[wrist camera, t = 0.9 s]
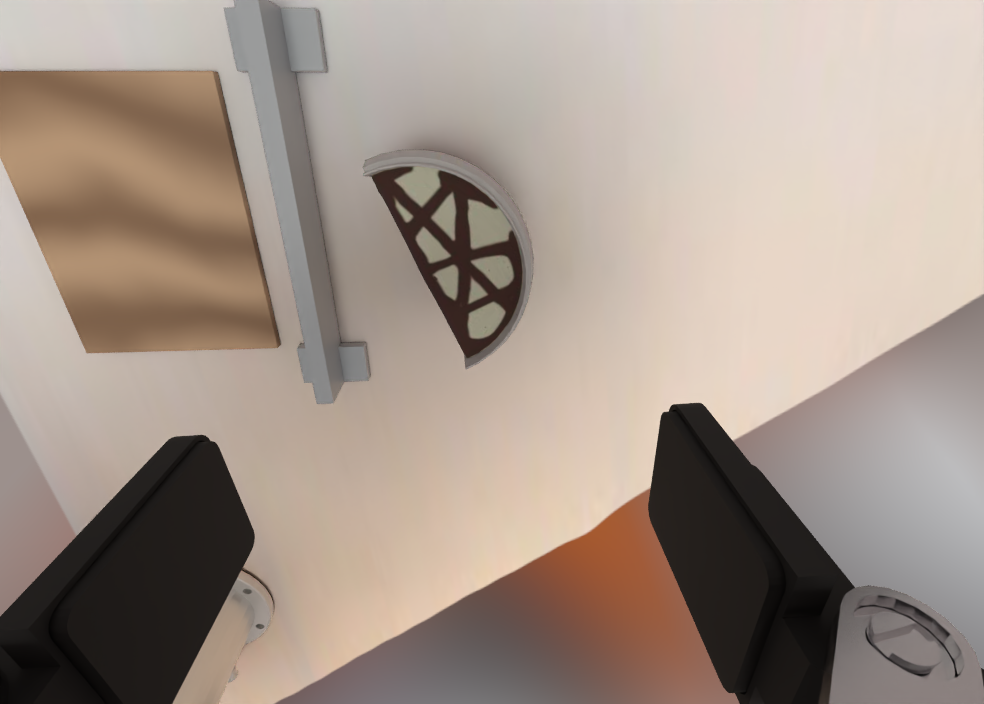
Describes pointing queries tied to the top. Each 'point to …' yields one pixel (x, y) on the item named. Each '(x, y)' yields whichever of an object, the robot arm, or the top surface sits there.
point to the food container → (460, 242)
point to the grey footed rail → (295, 177)
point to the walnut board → (138, 207)
